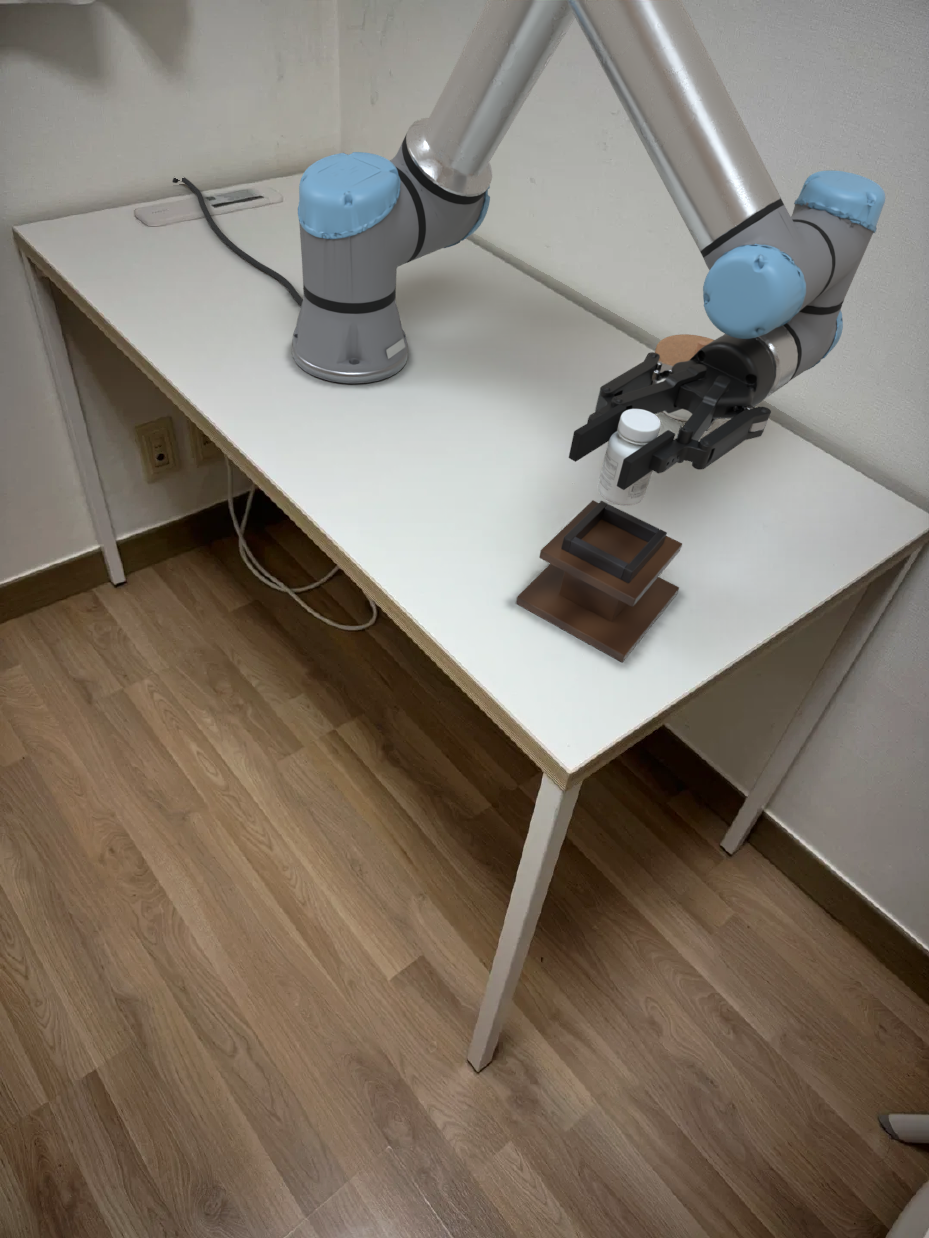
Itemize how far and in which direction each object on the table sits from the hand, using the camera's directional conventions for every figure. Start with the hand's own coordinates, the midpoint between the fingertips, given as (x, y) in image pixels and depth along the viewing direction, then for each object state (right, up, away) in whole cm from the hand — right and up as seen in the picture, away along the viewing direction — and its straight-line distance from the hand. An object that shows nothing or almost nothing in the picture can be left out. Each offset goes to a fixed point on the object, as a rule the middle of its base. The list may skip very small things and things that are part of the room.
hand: (599, 460), depth 70 cm
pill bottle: (+3, -2, +7) cm, 8 cm away
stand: (+2, -11, +15) cm, 19 cm away
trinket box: (+18, +14, +41) cm, 47 cm away
